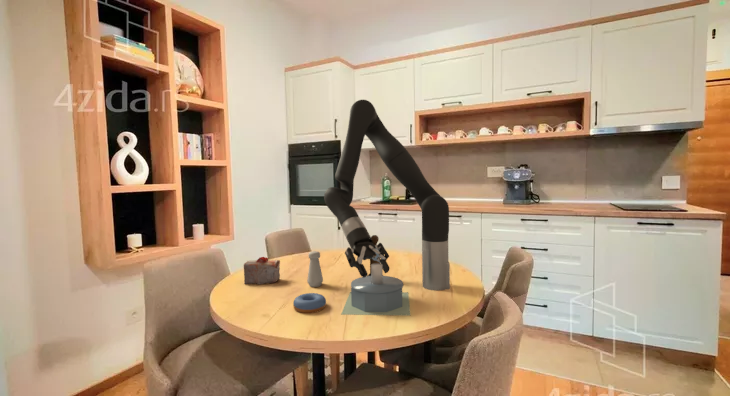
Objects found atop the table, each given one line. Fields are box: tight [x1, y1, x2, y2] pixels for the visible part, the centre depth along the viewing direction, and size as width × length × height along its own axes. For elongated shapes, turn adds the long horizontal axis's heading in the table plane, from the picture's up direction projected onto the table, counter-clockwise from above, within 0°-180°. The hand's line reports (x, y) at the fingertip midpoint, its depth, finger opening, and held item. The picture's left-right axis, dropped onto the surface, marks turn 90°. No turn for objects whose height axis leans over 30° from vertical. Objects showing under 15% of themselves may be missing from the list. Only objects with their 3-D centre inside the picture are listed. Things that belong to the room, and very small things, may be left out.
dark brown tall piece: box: [367, 234, 379, 276], centre depth 132 cm, size 7×6×18 cm
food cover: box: [350, 263, 404, 312], centre depth 109 cm, size 16×16×12 cm
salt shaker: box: [307, 250, 324, 288], centre depth 128 cm, size 6×6×13 cm
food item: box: [243, 256, 281, 285], centre depth 135 cm, size 14×8×10 cm, turn 92°
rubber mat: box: [340, 291, 411, 317], centre depth 109 cm, size 20×20×1 cm
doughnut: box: [292, 292, 327, 314], centre depth 106 cm, size 10×10×5 cm
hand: (376, 273), depth 109 cm, fingers open, 8 cm apart
